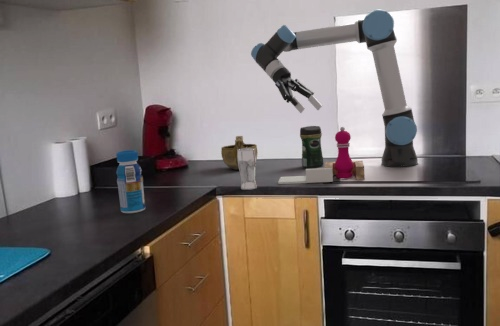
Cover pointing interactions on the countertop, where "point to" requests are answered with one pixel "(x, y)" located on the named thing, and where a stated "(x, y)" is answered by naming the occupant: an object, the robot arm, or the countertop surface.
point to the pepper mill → (343, 155)
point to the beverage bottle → (130, 182)
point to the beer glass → (247, 168)
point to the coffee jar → (311, 146)
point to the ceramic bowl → (235, 152)
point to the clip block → (357, 169)
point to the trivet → (292, 180)
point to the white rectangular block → (319, 175)
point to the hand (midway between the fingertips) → (311, 109)
